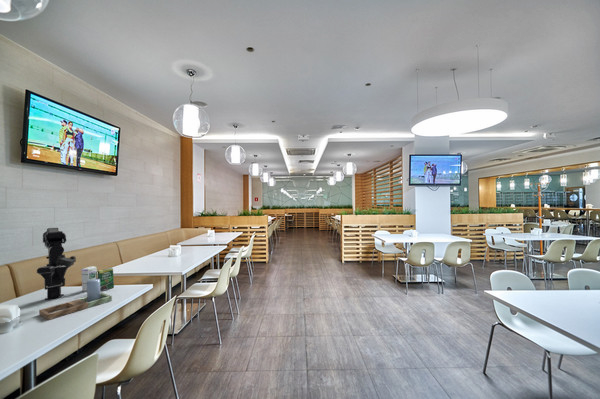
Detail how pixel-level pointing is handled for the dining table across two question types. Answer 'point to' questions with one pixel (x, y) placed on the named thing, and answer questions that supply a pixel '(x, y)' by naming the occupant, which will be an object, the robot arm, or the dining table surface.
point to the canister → (93, 290)
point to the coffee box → (106, 279)
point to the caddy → (72, 306)
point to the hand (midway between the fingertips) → (56, 281)
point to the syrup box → (88, 276)
